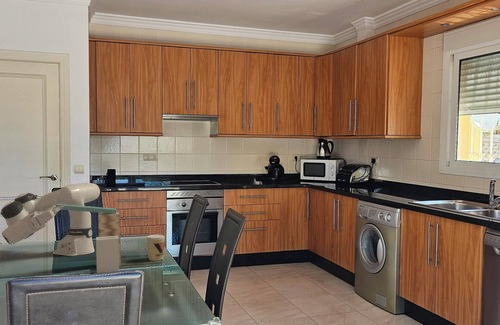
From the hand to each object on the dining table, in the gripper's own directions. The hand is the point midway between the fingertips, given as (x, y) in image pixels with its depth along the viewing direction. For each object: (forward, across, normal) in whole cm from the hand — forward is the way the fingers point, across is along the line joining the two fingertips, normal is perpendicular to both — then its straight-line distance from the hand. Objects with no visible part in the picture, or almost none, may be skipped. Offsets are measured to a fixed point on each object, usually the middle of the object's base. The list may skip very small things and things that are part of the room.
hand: (63, 205), depth 218 cm
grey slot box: (+2, +11, -37) cm, 39 cm away
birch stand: (+2, 0, -38) cm, 38 cm away
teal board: (+7, 0, -8) cm, 11 cm away
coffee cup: (+22, -5, -49) cm, 55 cm away
